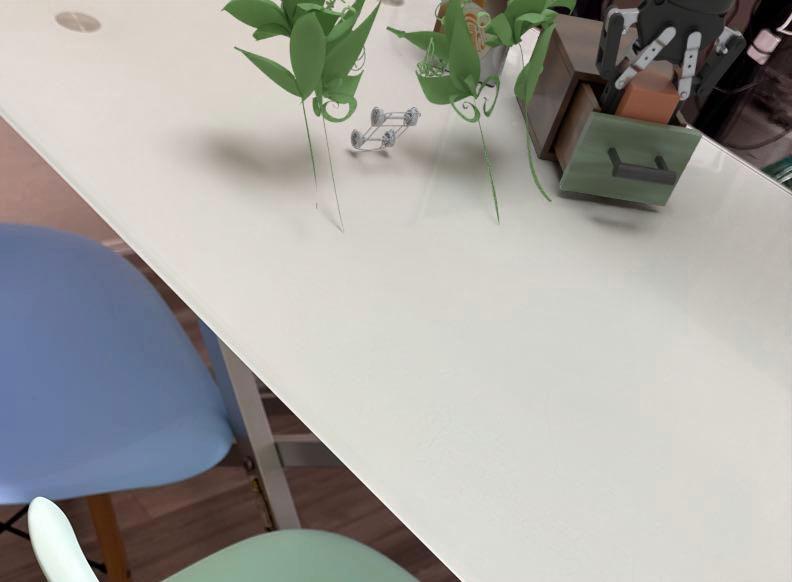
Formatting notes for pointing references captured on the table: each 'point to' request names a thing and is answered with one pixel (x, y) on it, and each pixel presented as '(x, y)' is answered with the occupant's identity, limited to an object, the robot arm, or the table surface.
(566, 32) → the cabinet
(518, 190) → the table surface
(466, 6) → the coffee box
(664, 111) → the block
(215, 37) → the table surface
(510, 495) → the table surface
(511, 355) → the table surface
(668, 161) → the drawer
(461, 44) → the plant cuttings
